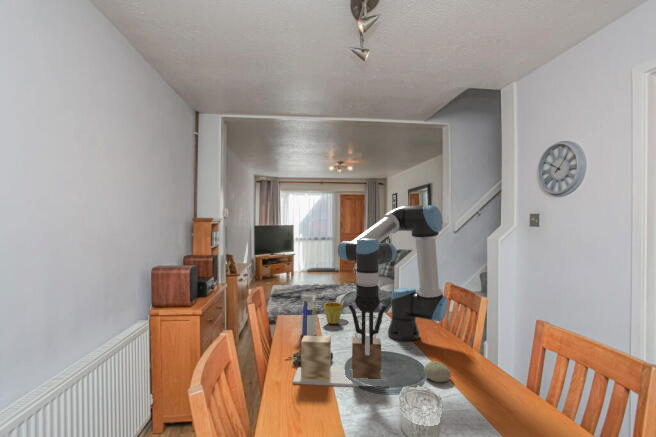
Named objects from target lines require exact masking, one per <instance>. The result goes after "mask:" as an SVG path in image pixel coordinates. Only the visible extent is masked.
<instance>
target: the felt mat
mask: <svg viewBox="0 0 656 437" xmlns="http://www.w3.org/2000/svg"><path fill="white" fill-rule="evenodd" d="M292 384H293V385H313V386H315V385H316V386H337V387H359V386H358V385H357V384H356V383H354V382H352V381H351V380H349V379H348V378H347V377H346V375H345V368H331V372H330V378H329V379H306V378H301V366H300V367H297V369H296V372H295V374H294V377H293V380H292Z"/></svg>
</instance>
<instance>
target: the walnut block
mask: <svg viewBox="0 0 656 437" xmlns="http://www.w3.org/2000/svg"><path fill="white" fill-rule="evenodd" d="M351 338H352V341H351V342H352V343H351V345H352V347H351V348H352V349H351V353H352V355H351V359H352V360H351V370H352V378H368V379H381V371H382V342H381V338H380V337H373V344H372V345H370V355H365V344H362V336H359V337H356V336H355V337H354V336H352V337H351Z"/></svg>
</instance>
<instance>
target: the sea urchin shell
mask: <svg viewBox="0 0 656 437" xmlns="http://www.w3.org/2000/svg"><path fill="white" fill-rule="evenodd" d="M424 373H425V374H426V376H425V377H426V378H427V379H429V380H431V381H433V382H435V383H445V382H447V381H450V380H451V377H452V376H451V370H450V369H449V368H448V367H447V366H446V365H445V364H444V363H443V362H440V361H435V360H434V361H430V362H428V363H427V364H426V365H425V366H424V368H423V374H424ZM425 374H424V375H425Z"/></svg>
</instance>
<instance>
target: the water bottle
mask: <svg viewBox="0 0 656 437" xmlns="http://www.w3.org/2000/svg"><path fill="white" fill-rule="evenodd" d="M315 289H316V286H314V285H313V284H312V286H311V287H310V292H309V293H303V294H301V296H300V299H301V301H302V306H301V309H302V315H301V323H300V324H301V327H300V335H301V336H303V337H304V336H317V307H316V304H315V301H317V300H318V296H317V294H316V293H311V292H315Z"/></svg>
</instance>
